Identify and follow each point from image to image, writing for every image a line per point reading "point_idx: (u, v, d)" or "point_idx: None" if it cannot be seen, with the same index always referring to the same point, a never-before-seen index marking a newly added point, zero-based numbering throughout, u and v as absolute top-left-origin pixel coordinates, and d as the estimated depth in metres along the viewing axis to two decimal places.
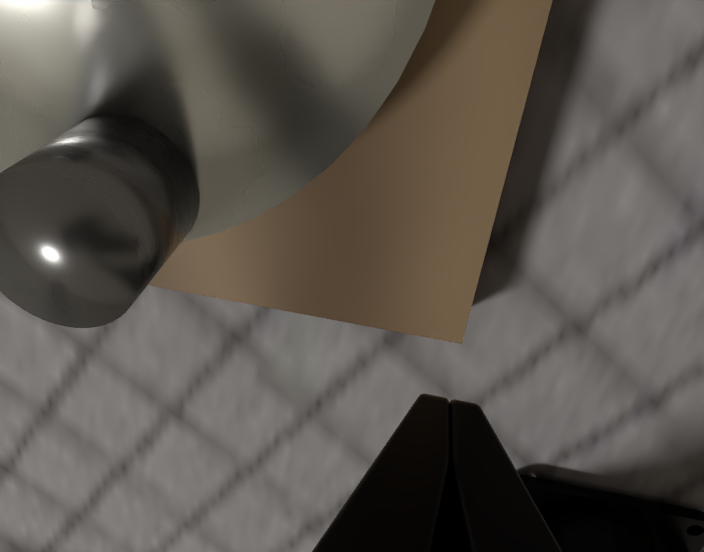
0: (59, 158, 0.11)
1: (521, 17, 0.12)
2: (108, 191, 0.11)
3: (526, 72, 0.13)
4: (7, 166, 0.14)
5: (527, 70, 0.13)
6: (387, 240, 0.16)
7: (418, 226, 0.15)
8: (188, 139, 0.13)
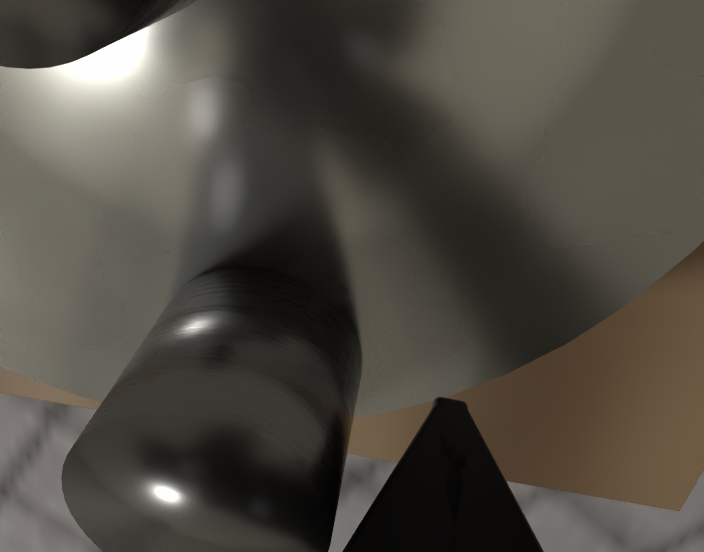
0: (214, 381, 0.07)
1: None
2: (293, 433, 0.07)
3: None
4: (86, 321, 0.10)
5: None
6: (602, 394, 0.12)
7: (649, 378, 0.11)
8: (359, 302, 0.09)
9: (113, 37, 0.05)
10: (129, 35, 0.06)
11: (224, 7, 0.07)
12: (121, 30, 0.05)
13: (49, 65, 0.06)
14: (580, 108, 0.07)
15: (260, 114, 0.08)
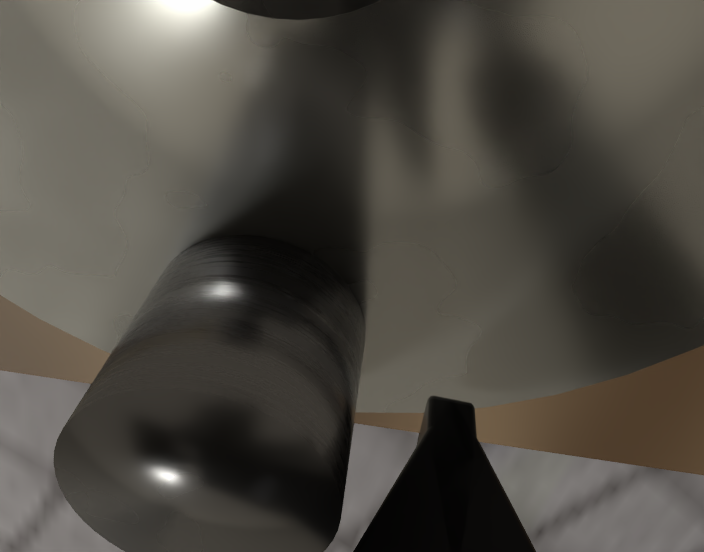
0: (266, 369, 0.07)
1: None
2: (330, 441, 0.07)
3: None
4: (78, 244, 0.09)
5: None
6: None
7: None
8: (382, 307, 0.09)
9: None
10: None
11: None
12: None
13: (318, 16, 0.05)
14: (666, 201, 0.08)
15: (369, 101, 0.07)
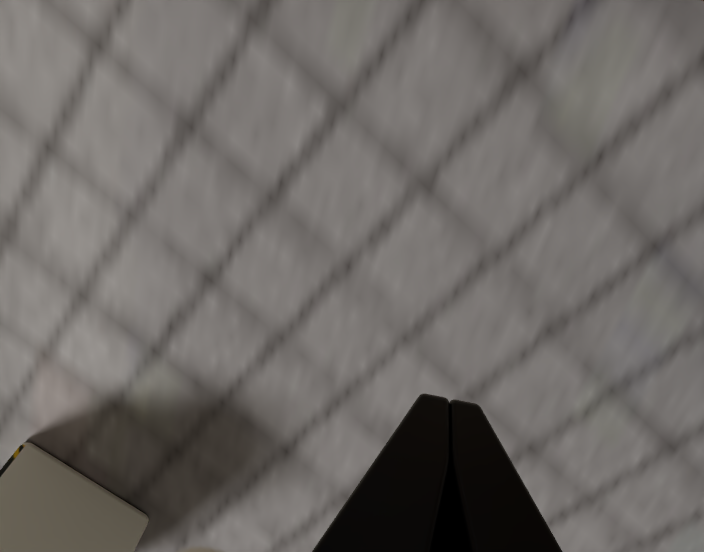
0: None
1: None
2: None
3: None
4: None
5: None
6: None
7: None
8: None
9: None
10: None
11: None
12: None
13: None
14: None
15: None
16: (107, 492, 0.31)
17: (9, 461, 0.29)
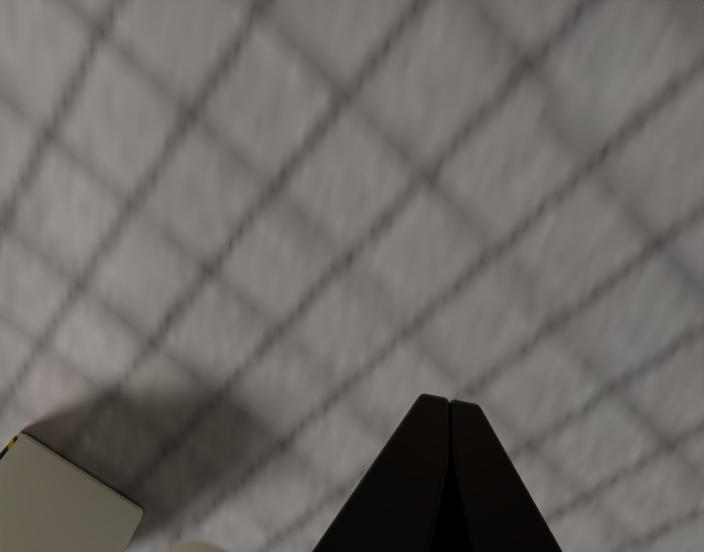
0: None
1: None
2: None
3: None
4: None
5: None
6: None
7: None
8: None
9: None
10: None
11: None
12: None
13: None
14: None
15: None
16: (102, 484, 0.31)
17: (3, 452, 0.29)
